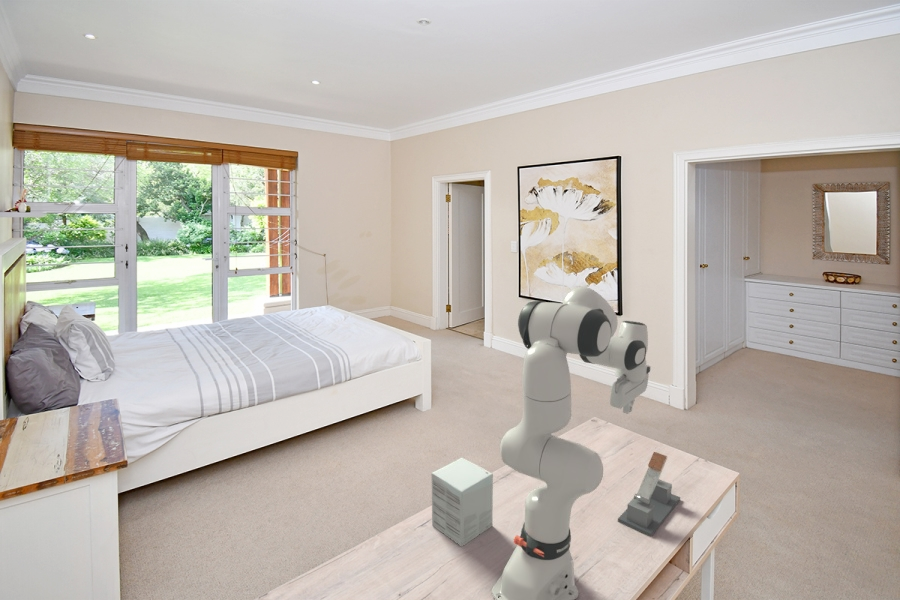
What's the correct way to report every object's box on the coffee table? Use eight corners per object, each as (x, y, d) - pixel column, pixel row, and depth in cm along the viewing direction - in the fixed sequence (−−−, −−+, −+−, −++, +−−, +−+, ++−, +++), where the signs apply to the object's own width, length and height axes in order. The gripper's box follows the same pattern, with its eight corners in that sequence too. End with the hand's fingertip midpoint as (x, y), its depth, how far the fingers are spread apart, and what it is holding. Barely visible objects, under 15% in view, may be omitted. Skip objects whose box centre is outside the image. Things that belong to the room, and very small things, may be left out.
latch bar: (649, 506, 140) (647, 502, 139) (634, 499, 143) (633, 496, 142) (668, 458, 148) (667, 455, 146) (654, 453, 151) (653, 450, 149)
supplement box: (462, 506, 151) (462, 456, 147) (493, 526, 141) (493, 473, 138) (431, 525, 142) (430, 472, 138) (461, 547, 132) (461, 491, 129)
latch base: (651, 537, 136) (653, 509, 134) (617, 521, 143) (619, 494, 141) (680, 500, 153) (682, 474, 151) (649, 487, 160) (651, 463, 158)
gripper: (626, 382, 138) (623, 426, 141) (652, 365, 153) (649, 405, 156) (605, 377, 143) (603, 419, 145) (633, 361, 157) (630, 399, 160)
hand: (627, 412), depth 151 cm, fingers closed
